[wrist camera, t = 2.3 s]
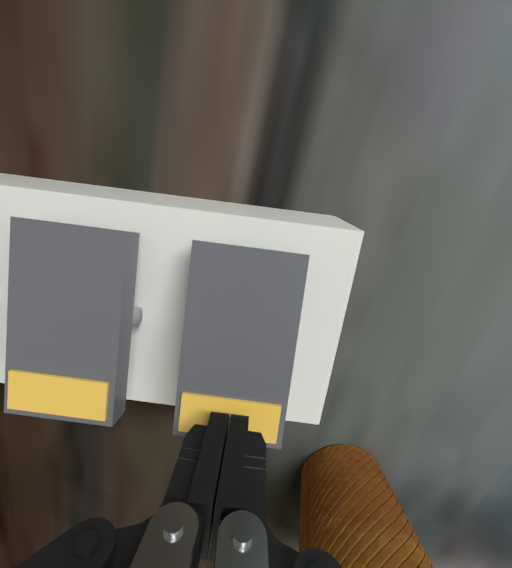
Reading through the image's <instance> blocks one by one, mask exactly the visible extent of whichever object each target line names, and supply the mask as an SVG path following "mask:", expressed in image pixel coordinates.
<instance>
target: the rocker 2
mask: <svg viewBox="0 0 512 568" xmlns="http://www.w3.org/2000/svg"><path fill="white" fill-rule="evenodd" d="M309 257H310V255H306V254H299V253H291V252H283V251H276V250H268V249H260V248H252V247H245V246H237V245H229V244H221V243H214V242H206V241H198V240H192V248H191V258H190V267H189V277H188V287H187V296H186V306H185V316H184V326H183V335H182V345H181V355H180V364H179V374H178V384H177V394H176V403H175V413H174V423H173V432H172V435H176V436H184V437H185V435H186V433H187V432H188V431H189V430H190V429H191V428H192V427H193V426H194V425H195V424H199V425H207V424H208V421H209V417H210V413H211V411H213V412H221V413H228V414H229V422H230V416H231V414H237V415H244V416H249V424H248V431H253V432H261V434H262V436H263V438H264V440H265V443H266V447H267V448H275V449H281V446H282V439H283V432H284V425H285V419H286V412H287V405H288V398H289V392H290V385H291V378H292V372H293V365H294V358H295V351H296V345H297V338H298V331H299V324H300V318H301V311H302V304H303V297H304V291H305V284H306V277H307V270H308V264H309ZM228 428H229V423H228ZM227 434H228V432H227Z"/></svg>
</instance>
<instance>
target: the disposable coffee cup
mask: <svg viewBox="0 0 512 568" xmlns="http://www.w3.org/2000/svg"><path fill="white" fill-rule="evenodd" d="M300 500H301V503H300V532H299V553H301V552H302V551H304V550H306V549H308V548H319V549H322V550H324V551H326V552H328V553H329V554H331V555H332V556H333V557H334V558H335V559H336V560H337V561H338V563H339V564H340V565H341V567H342V568H434V567H433V565H432V563H431V561H430V559H429V557H428V556H427V554H426V552H425V550H424V548H423V546H422V544H421V542H420V540H419V539H418V537H417V535H416V533H415V531H414V529H413V528H412V525H411V523H410V521H409V520H408V519H407V516H406V514H405V512H404V511H403V509H402V507H401V505H400V503H399V502H398V500H397V498H396V496H395V494H394V492H393V490H392V488H391V487H390V485H389V483H388V481H387V479H386V477H385V475H384V474H383V472H382V470H381V468H380V466H379V464H378V462H377V460H376V459H375V458H374V457H373V455H371V454H370V453H368V452H367V451H366V450H364V449H361V448H359V447H355V446H351V445H333V446H328V447H326V448H323V449H320V450H318V451H317V452H315V453H313V454H312V455H311V456H310V457H309V458H308V459H307V460H306V462H305V463H304V465H303V467H302V471H301V498H300Z"/></svg>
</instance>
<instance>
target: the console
mask: <svg viewBox="0 0 512 568" xmlns="http://www.w3.org/2000/svg"><path fill="white" fill-rule="evenodd" d="M10 216H12V217H20V218H28V219H36V220H43V221H51V222H59V223H67V224H74V225H82V226H90V227H98V228H105V229H113V230H121V231H128V232H136V233H140V236H139V248H138V260H137V272H136V284H135V296H134V308H133V320H132V332H131V345H130V357H129V369H128V381H127V393H126V399H128V400H136V401H143V402H151V403H158V404H166V405H174V406H175V403H176V394H177V384H178V374H179V364H180V355H181V345H182V335H183V326H184V316H185V306H186V296H187V287H188V277H189V267H190V258H191V248H192V240H198V241H206V242H214V243H221V244H229V245H237V246H245V247H252V248H260V249H268V250H276V251H283V252H291V253H299V254H306V255H310V257H309V264H308V270H307V277H306V284H305V291H304V297H303V304H302V311H301V318H300V324H299V331H298V338H297V345H296V351H295V358H294V365H293V372H292V378H291V385H290V392H289V398H288V405H287V412H286V419H285V420H287V421H295V422H303V423H310V424H318V425H319V422H320V418H321V414H322V410H323V405H324V401H325V397H326V393H327V388H328V384H329V380H330V376H331V371H332V367H333V363H334V359H335V354H336V350H337V346H338V342H339V337H340V333H341V329H342V324H343V320H344V316H345V312H346V307H347V303H348V299H349V295H350V290H351V286H352V282H353V278H354V273H355V269H356V265H357V261H358V256H359V252H360V248H361V244H362V239H363V235H364V231H362V230H360V229H358V228H356V227H355V226H353V225H351V224H349V223H347V222H345V221H343V220H342V219H340V218H338V217H336V216H331V215H323V214H315V213H307V212H300V211H292V210H284V209H276V208H269V207H261V206H253V205H245V204H237V203H230V202H222V201H214V200H206V199H199V198H191V197H183V196H175V195H167V194H160V193H152V192H144V191H136V190H129V189H121V188H113V187H105V186H97V185H90V184H82V183H74V182H66V181H59V180H51V179H43V178H35V177H27V176H20V175H12V174H4V173H0V383H5V363H6V334H7V304H8V275H9V245H10Z"/></svg>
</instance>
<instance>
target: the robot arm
mask: <svg viewBox="0 0 512 568" xmlns="http://www.w3.org/2000/svg"><path fill="white" fill-rule="evenodd" d="M228 423H229V428H228ZM248 424H249V416H244V415H237V414H231V416H230V422H229V414H228V413H221V412H213V411H211V413H210V417H209V421H208V424H207V425H199V424H195V425H194V426H193V427H192V428H191V429H190V430H189V431H188V432H187V433H186V435H185V438H184V441H183V444H182V448H181V450H180V453H179V456H178V459H177V462H176V465H175V468H174V471H173V474H172V477H171V480H170V483H169V486H168V489H167V492H166V495H165V498H164V500H163V503H162V505H161V506H160V508H159V509H158V510H157V511H156V512H155V513H154V515H153V516H151V517H150V518H149V519H147V520H145V521H144V522H141V523H139V524H136V525H132V526H127V527H123V528H118V529H115V528H114V526H113V525H112V523H111V522H109V521H108V520H106V519H104V518H90V519H87V520H84V521H82V522H80V523H78V524H77V525H75V526H74V527H72V528H71V529H69V530H68V531H66V532H65V533H64V534H62V535H61V536H59V537H58V538H56V539H55V540H53V541H52V542H51V543H49V544H48V545H46V546H45V547H43V548H42V549H40V550H39V551H38V552H36V553H35V554H33V555H32V556H30V557H29V558H28V559H26V560H25V561H23V562H22V563H20V564H19V565H17V566H16V567H15V568H198V566H199V561H200V559H204V560H207V556H208V550H209V544H210V539H211V547H210V556H209V560H213V561H214V568H342V567H341V565H340V564H339V563H338V561H337V560H336V559H335V558H334V557H333V556H332V555H331V554H329V553H328V552H326V551H324V550H322V549H319V548H308V549H306V550H304V551H302V552H301V553H299V552H297V551H295V550H293V549H291V548H290V547H288V546H286V545H284V544H283V543H281V542H280V541H279V540H277V539H276V538H275V536H274V535H273V534H272V533H271V531H270V529H269V527H268V525H267V522H266V517H265V490H266V443H265V440H264V438H263V436H262V434H261V432H253V431H248ZM227 432H228V434H227ZM212 527H213V529H212ZM211 533H212V538H211Z"/></svg>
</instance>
